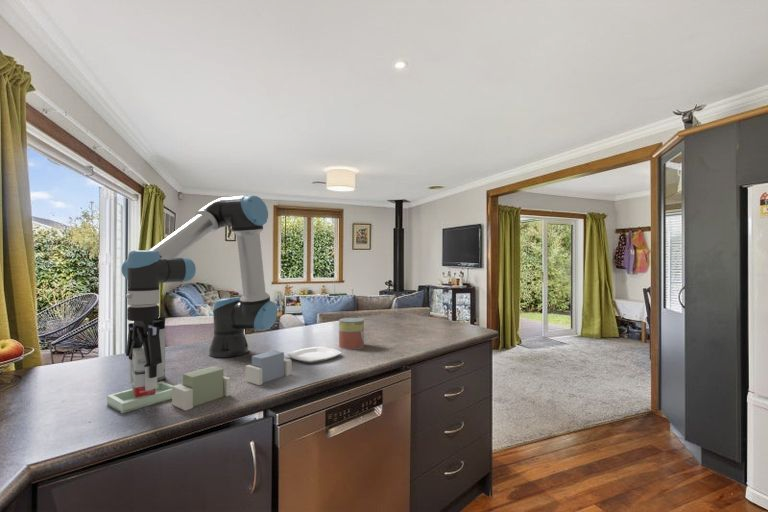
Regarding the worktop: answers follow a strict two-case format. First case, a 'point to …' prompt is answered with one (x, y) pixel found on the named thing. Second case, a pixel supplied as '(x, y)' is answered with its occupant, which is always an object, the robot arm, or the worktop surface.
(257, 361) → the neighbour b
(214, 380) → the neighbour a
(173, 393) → the holder
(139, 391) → the ink box
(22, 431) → the worktop surface
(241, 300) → the robot arm
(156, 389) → the tray
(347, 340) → the canned food
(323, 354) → the plate
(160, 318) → the travel mug
